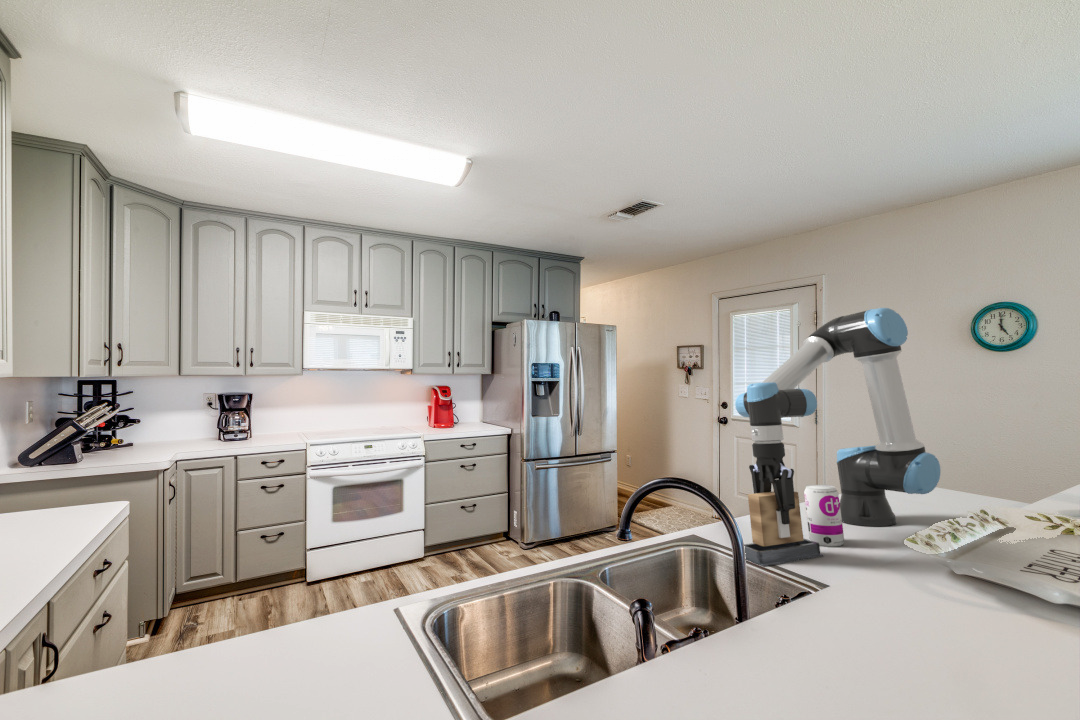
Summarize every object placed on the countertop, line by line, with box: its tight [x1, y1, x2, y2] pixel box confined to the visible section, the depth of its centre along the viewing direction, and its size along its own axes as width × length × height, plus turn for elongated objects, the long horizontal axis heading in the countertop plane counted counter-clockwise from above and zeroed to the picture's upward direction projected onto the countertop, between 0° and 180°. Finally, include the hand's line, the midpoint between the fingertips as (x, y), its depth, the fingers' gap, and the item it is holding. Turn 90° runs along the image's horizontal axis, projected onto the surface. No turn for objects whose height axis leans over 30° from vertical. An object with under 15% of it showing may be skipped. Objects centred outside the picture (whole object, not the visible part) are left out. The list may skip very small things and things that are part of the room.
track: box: [743, 537, 825, 568], centre depth 120 cm, size 18×9×3 cm, turn 105°
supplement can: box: [803, 484, 845, 548], centre depth 129 cm, size 8×8×15 cm
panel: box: [747, 491, 804, 547], centre depth 121 cm, size 12×4×12 cm, turn 105°
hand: (777, 534), depth 120 cm, fingers closed on panel, 4 cm apart
